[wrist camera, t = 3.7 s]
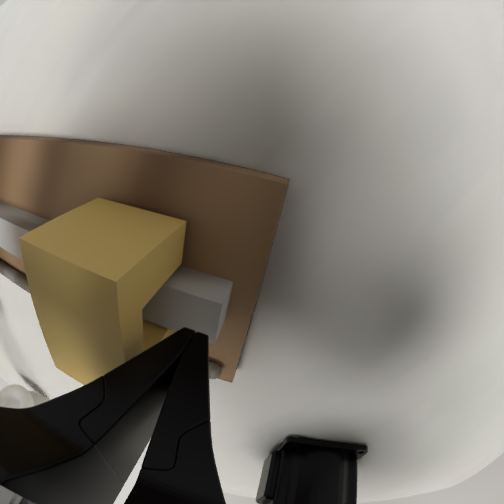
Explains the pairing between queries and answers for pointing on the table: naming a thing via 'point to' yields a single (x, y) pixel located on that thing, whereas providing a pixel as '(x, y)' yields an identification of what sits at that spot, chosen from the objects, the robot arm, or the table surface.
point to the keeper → (100, 282)
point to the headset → (20, 397)
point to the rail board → (162, 202)
